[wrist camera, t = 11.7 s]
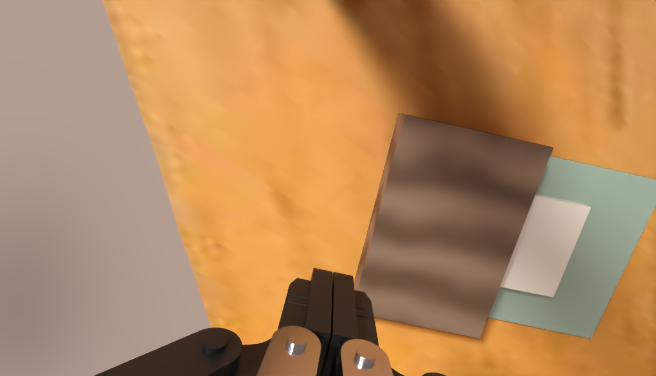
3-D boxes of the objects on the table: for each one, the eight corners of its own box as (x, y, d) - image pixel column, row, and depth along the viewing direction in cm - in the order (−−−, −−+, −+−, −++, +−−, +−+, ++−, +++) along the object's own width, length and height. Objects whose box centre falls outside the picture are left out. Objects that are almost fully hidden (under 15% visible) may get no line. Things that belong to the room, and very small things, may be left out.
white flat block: (517, 190, 41) (524, 193, 39) (582, 203, 41) (591, 207, 39) (485, 278, 44) (490, 284, 42) (546, 290, 44) (553, 297, 42)
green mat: (533, 152, 40) (535, 152, 39) (663, 181, 40) (666, 182, 40) (473, 312, 45) (474, 314, 45) (588, 336, 46) (591, 338, 45)
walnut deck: (398, 113, 39) (405, 114, 35) (532, 143, 40) (553, 147, 36) (351, 294, 45) (352, 312, 41) (467, 318, 46) (479, 338, 42)
